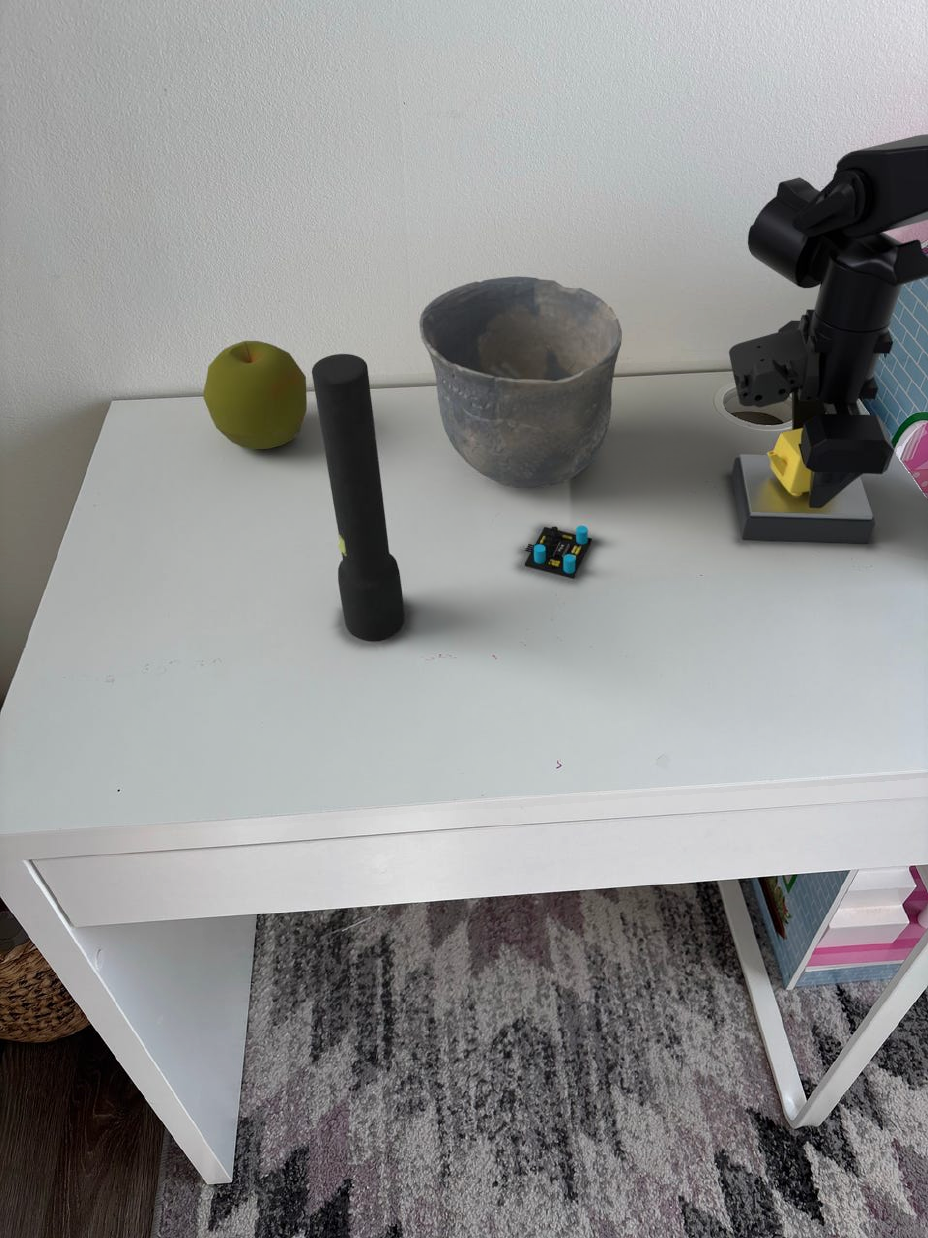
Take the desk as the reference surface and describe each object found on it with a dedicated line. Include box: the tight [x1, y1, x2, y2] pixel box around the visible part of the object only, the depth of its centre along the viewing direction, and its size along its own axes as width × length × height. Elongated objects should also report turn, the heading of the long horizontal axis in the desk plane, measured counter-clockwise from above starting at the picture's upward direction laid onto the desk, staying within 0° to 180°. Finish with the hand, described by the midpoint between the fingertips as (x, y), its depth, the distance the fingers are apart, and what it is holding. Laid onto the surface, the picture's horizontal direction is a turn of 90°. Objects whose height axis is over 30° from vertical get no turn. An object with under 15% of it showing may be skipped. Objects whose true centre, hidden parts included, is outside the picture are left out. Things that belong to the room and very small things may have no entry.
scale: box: [730, 453, 876, 544], centre depth 88 cm, size 11×9×3 cm
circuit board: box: [524, 525, 593, 580], centre depth 85 cm, size 5×2×5 cm
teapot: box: [766, 428, 811, 496], centre depth 85 cm, size 8×6×5 cm
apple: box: [202, 340, 308, 450], centre depth 95 cm, size 10×10×11 cm
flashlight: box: [311, 353, 406, 642], centre depth 72 cm, size 5×24×5 cm
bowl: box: [418, 275, 623, 489], centre depth 89 cm, size 18×18×15 cm
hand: (806, 474), depth 86 cm, fingers open, 9 cm apart
